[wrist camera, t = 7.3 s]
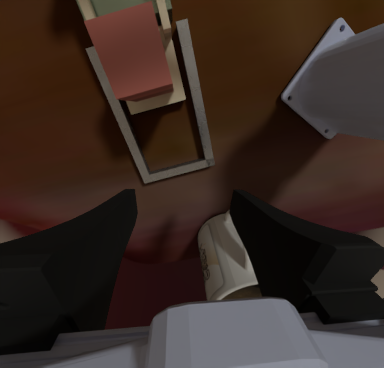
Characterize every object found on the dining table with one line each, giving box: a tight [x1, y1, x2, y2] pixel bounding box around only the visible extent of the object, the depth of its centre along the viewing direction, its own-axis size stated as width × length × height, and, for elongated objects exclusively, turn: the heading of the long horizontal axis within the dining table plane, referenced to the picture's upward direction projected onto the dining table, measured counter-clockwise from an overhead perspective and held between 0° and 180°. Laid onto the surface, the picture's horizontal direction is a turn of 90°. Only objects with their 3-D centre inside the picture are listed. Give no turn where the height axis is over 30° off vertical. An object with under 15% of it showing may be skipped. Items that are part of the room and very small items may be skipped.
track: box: [76, 0, 215, 183], centre depth 15 cm, size 24×9×2 cm, turn 14°
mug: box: [198, 209, 262, 301], centre depth 22 cm, size 10×12×11 cm
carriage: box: [78, 0, 186, 115], centre depth 11 cm, size 12×6×7 cm, turn 14°
